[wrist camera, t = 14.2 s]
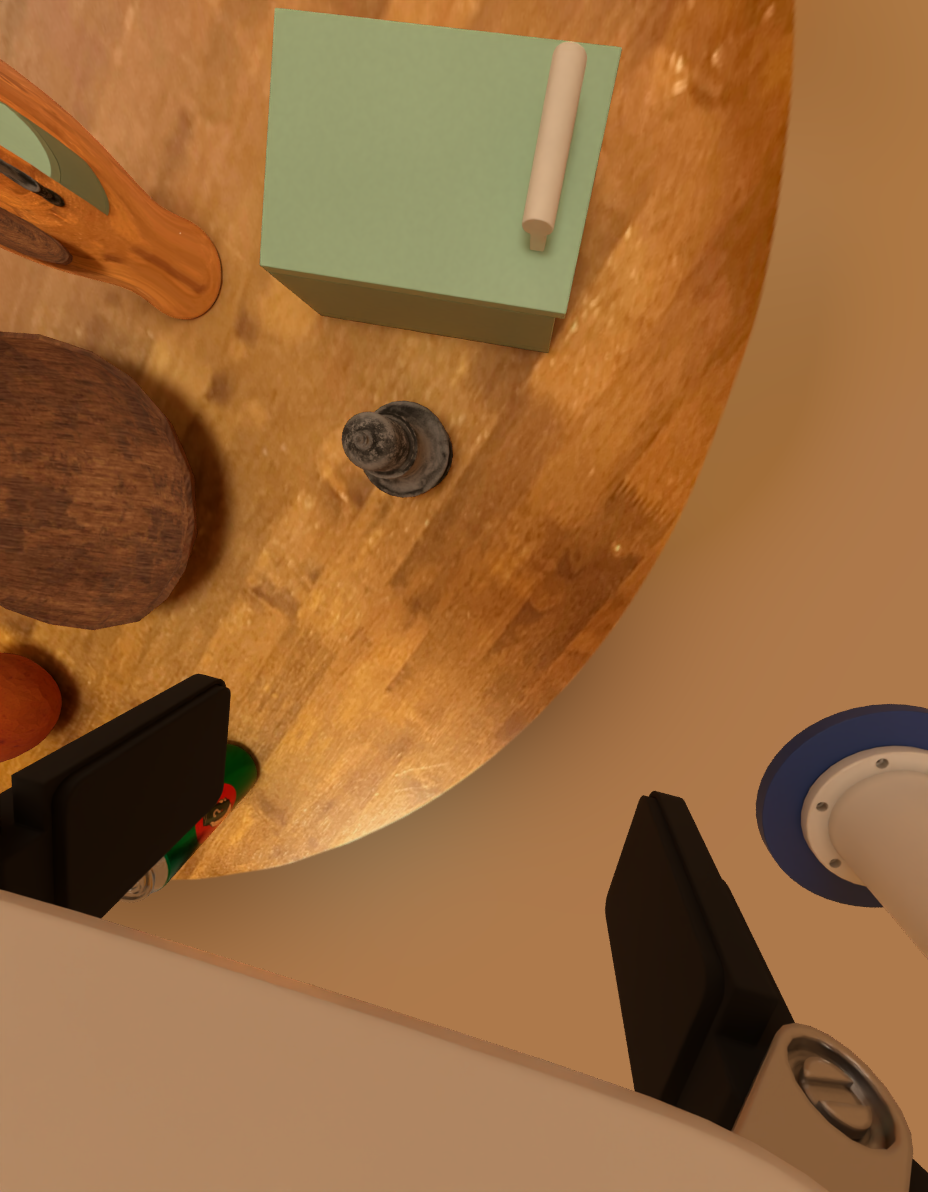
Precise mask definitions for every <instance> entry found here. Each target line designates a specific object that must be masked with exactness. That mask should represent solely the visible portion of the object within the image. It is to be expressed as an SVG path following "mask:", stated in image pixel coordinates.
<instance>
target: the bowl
mask: <svg viewBox="0 0 928 1192" xmlns="http://www.w3.org/2000/svg"><path fill="white" fill-rule="evenodd" d="M196 536H197V520H196V499H195V478H194V475H193V473H192V470H191V468H190V465H189V463H188V460H187V458H186V455H185V453H184V450H183V448H182V446H181V444H180V441H179V439H178V437H177V435H176V433H175V430H174V428H173V426H172V424H171V422H170V421H169V420H168V418H167V417H166V416H165V415H164V414H163V413H162V412H161V411H160V409H159V408H158V407H157V406H156V405H155V404H154V403H153V401H152V400H151V399H150V398H149V397H148V396H147V395H146V393H145V392H144V391H143V390H142V389H141V388H140V387H139V385H138V384H137V383H136V382H135V381H134V380H133V379H132V378H131V377H130V376H128V375H127V374H125V373H124V372H122V371H121V370H119V369H118V368H116V367H114V366H113V365H111V364H110V363H108V362H107V361H105V360H104V359H102V358H101V357H99V356H97V355H96V354H94V353H93V352H91V351H88V350H85V349H82V348H79V347H76V346H73V345H70V344H67V343H64V342H61V341H58V340H55V339H52V338H49V337H46V336H43V335H40V334H26V333H11V332H0V606H2V607H4V608H5V609H8V610H11V611H14V612H17V613H20V614H22V615H25V616H28V617H31V618H34V619H37V620H39V621H42V622H45V623H48V624H53V625H60V626H67V627H75V628H82V629H89V630H96V629H101V628H106V627H111V626H117V625H122V624H127V623H132V622H137V621H140V620H141V619H142V618H144V617H145V616H146V615H147V614H149V613H150V612H151V611H152V610H154V609H155V608H156V607H157V606H159V605H160V604H161V603H162V602H164V601H165V600H166V599H167V598H168V597H169V595H170V593H171V592H172V590H173V589H174V587H175V586H176V584H177V583H178V581H179V580H180V578H181V576H182V575H183V573H184V571H185V569H186V566H187V563H188V560H189V557H190V554H191V551H192V548H193V545H194V542H195V539H196Z"/></svg>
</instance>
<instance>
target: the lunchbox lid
mask: <svg viewBox="0 0 928 1192" xmlns="http://www.w3.org/2000/svg"><path fill="white" fill-rule="evenodd" d="M621 51H622V48H621V47H615V46H606V45H598V44H589V43H580V42H571V41H563V40H554V39H545V38H536V37H527V36H519V35H510V34H501V33H492V32H484V31H475V30H466V29H457V28H449V27H440V26H431V25H422V24H414V23H405V22H396V21H387V20H379V19H370V18H361V17H352V16H344V15H335V14H326V13H317V12H308V11H300V10H291V9H282V8H275V15H274V32H273V49H272V66H271V83H270V100H269V116H268V133H267V150H266V167H265V184H264V201H263V217H262V234H261V251H260V266H261V267H263V268H264V269H265V270H266V271H268V272H274V273H280V274H287V275H293V276H299V277H305V278H312V279H318V280H324V281H330V282H337V283H343V284H349V285H355V286H362V287H368V288H374V289H381V290H387V291H393V292H399V293H406V294H412V295H418V296H424V297H431V298H437V299H443V300H449V301H456V302H462V303H468V304H474V305H481V306H487V307H493V308H499V309H506V310H512V311H518V312H524V313H531V314H537V315H543V316H550V317H556V318H562V319H564V318H565V315H566V311H567V306H568V301H569V297H570V292H571V287H572V282H573V278H574V273H575V268H576V264H577V259H578V254H579V249H580V245H581V240H582V235H583V230H584V226H585V221H586V216H587V212H588V207H589V202H590V197H591V193H592V188H593V183H594V179H595V174H596V169H597V164H598V160H599V155H600V150H601V145H602V141H603V136H604V131H605V127H606V122H607V117H608V112H609V108H610V103H611V98H612V94H613V89H614V84H615V79H616V75H617V70H618V65H619V60H620V56H621Z"/></svg>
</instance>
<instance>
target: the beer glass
mask: <svg viewBox="0 0 928 1192" xmlns="http://www.w3.org/2000/svg"><path fill="white" fill-rule="evenodd" d="M0 248H2V249H4V250H7V251H9V252H12V253H14V254H16V255H19V256H21V257H24V258H26V259H28V260H31V261H33V262H36V263H38V264H42V265H45V266H48V267H51V268H54V269H57V270H60V271H63V272H67V273H71V274H74V275H78V276H82V277H86V278H90V279H94V280H98V281H102V282H106V283H109V284H113V285H116V286H120V287H123V288H125V289H128V290H130V291H132V292H134V293H136V294H138V295H139V296H141V297H142V298H144V299H145V300H146V301H147V302H149V303H150V304H151V305H153V306H154V307H155V308H157V309H158V310H159V311H161V312H162V313H164V314H166V315H168V316H170V317H173V318H177V319H192V318H196V317H198V316H200V315H202V314H203V313H205V312H206V311H207V310H208V309H209V308H210V307H211V306H212V304H213V303H214V301H215V300H216V298H217V295H218V293H219V289H220V285H221V264H220V260H219V256H218V253H217V251H216V248H215V246H214V244H213V243H212V241H211V240H210V238H209V237H208V236H207V234H206V233H205V232H204V231H203V230H202V229H201V228H200V227H198V226H197V225H196V224H194V223H193V222H191V221H189V220H187V219H185V218H183V217H180V216H178V215H176V214H174V213H172V212H170V211H168V210H166V209H165V208H163V207H162V206H160V205H159V204H158V203H156V202H155V201H154V200H153V199H152V197H150V196H149V195H148V194H147V193H146V192H145V191H144V190H143V189H142V188H141V187H140V186H139V185H138V184H137V183H136V182H135V181H134V179H133V178H132V177H131V176H130V175H129V174H128V173H127V172H126V171H125V169H124V168H123V167H122V166H121V165H120V164H119V163H118V162H117V161H116V160H115V159H114V158H113V157H112V155H111V154H110V153H109V152H108V151H107V150H106V149H105V148H104V147H103V146H102V145H101V144H100V143H99V142H98V141H97V140H96V139H95V138H94V137H93V136H92V135H91V134H90V133H89V132H88V131H87V130H86V129H85V128H84V127H83V126H82V125H81V124H80V123H79V122H78V121H77V120H76V119H75V118H74V117H73V116H71V115H70V114H69V113H68V112H67V111H66V110H64V109H63V108H62V107H61V106H60V105H59V104H57V103H56V102H55V101H54V100H53V99H52V98H50V97H49V96H48V95H47V94H46V93H45V92H43V91H42V90H41V89H39V88H38V87H37V86H36V85H34V84H33V83H32V82H30V81H29V80H28V79H26V78H25V77H24V76H23V75H21V74H20V73H19V72H17V71H16V70H15V69H14V68H12V67H11V66H9V65H8V64H7V63H5V62H4V61H3V60H1V59H0Z"/></svg>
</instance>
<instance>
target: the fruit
mask: <svg viewBox="0 0 928 1192" xmlns="http://www.w3.org/2000/svg"><path fill="white" fill-rule="evenodd" d="M61 706H62V698H61V692H60V690H59V687H58V685H57V684H56V682H55V681H54V679H53V678H52V677H51V675H50V674H49V673H48V672H46V671H45V670H44V669H43V668H42V667H41V666H39V665H38V664H36V663H35V662H33V661H31V660H30V659H28V658H26V657H23V656H19V655H16V654H10V653H0V762H3V761H6V760H9V759H12V758H15V757H17V756H19V755H21V754H23V753H25V752H26V751H28V750H30V749H32V748H33V747H35V746H37V745H38V744H39V743H40V742H41V741H43V740H44V739H45V738H46V736H47V735H48V734H49V733H50V731H51V730H52V729H53V728H54V726H55V724H56V722H57V720H58V717H59V715H60V710H61Z"/></svg>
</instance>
